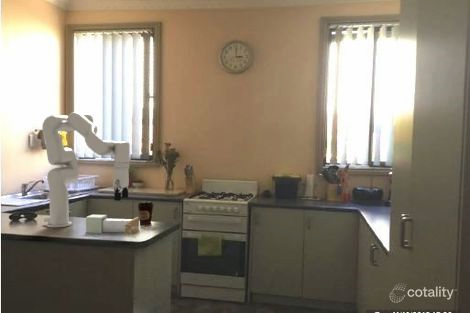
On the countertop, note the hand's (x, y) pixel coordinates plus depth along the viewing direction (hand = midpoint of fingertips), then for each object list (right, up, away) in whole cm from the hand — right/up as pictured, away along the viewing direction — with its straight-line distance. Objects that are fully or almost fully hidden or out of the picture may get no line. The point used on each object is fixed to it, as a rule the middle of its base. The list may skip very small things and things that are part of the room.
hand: (121, 199), depth 216 cm
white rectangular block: (-2, -17, 0) cm, 17 cm away
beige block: (+6, -17, 0) cm, 18 cm away
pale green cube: (-13, -17, +2) cm, 21 cm away
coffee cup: (+9, -16, +17) cm, 25 cm away
